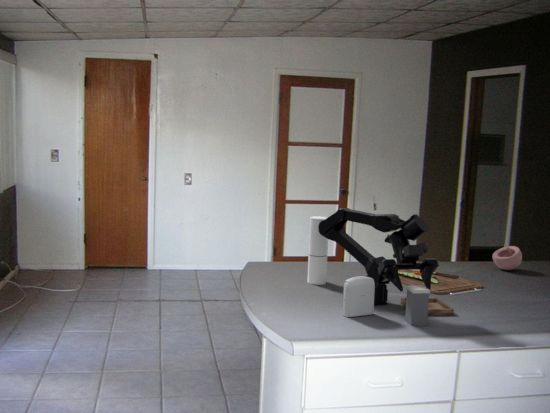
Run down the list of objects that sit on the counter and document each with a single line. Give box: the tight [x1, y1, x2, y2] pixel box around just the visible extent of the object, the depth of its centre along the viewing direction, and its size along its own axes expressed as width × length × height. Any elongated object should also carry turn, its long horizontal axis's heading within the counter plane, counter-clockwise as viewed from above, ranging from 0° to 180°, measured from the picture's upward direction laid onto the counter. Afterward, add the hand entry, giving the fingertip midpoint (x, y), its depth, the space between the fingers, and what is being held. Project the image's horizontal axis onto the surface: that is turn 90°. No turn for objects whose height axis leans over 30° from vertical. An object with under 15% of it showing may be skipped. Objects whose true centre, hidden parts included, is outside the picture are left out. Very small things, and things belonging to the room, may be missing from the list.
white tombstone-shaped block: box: [342, 275, 375, 318], centre depth 175 cm, size 10×4×12 cm, turn 114°
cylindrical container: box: [306, 215, 329, 286], centre depth 212 cm, size 7×7×25 cm
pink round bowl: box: [492, 244, 523, 271], centre depth 245 cm, size 12×12×11 cm
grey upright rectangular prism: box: [404, 285, 431, 327], centre depth 169 cm, size 5×5×11 cm
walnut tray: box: [400, 297, 455, 316], centre depth 184 cm, size 13×13×2 cm
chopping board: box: [398, 269, 483, 296], centre depth 225 cm, size 45×27×3 cm, turn 30°
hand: (415, 290), depth 171 cm, fingers open, 9 cm apart
